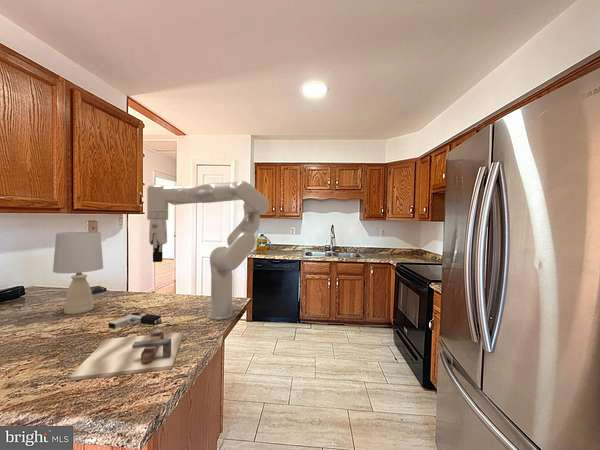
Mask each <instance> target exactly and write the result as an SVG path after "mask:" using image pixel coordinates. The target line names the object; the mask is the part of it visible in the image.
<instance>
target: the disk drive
mask: <svg viewBox="0 0 600 450" xmlns="http://www.w3.org/2000/svg"><path fill="white" fill-rule="evenodd" d="M90 289H91V292H92V295H97V294H101V293H106V292H105V291H107V287H104V286H101V285H96V286H94V285H93V286H90Z"/></svg>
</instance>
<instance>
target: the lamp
mask: <svg viewBox="0 0 600 450" xmlns="http://www.w3.org/2000/svg"><path fill="white" fill-rule="evenodd" d="M54 242H55V243H54V255H53V266H52V267H53V268H52V273H55V274H74V275H72V276H70V278H71V279H72V280H71V282H70V285H69V286H68V290H67V292H66V294H65V295H66V296H65V300H64V308H63V312H64V314H65V315H79V314H85V313H88V312H91V311H92V310H94V308H95V304H94V299H93V297H94V296H93V294H92V292H91V289H90V287H91V286H90V284H89V281H87V277H88V274H85V273H88V272H94V271H95V272H96V271H100V270H103V269H104V261H103V260H104V259H103V248H102V244H103V243H102V235H101V232H100V231H99V232H98V231H68V232H66V231H65V232H64V231H63V232H55V241H54ZM83 273H84V274H83Z"/></svg>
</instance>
